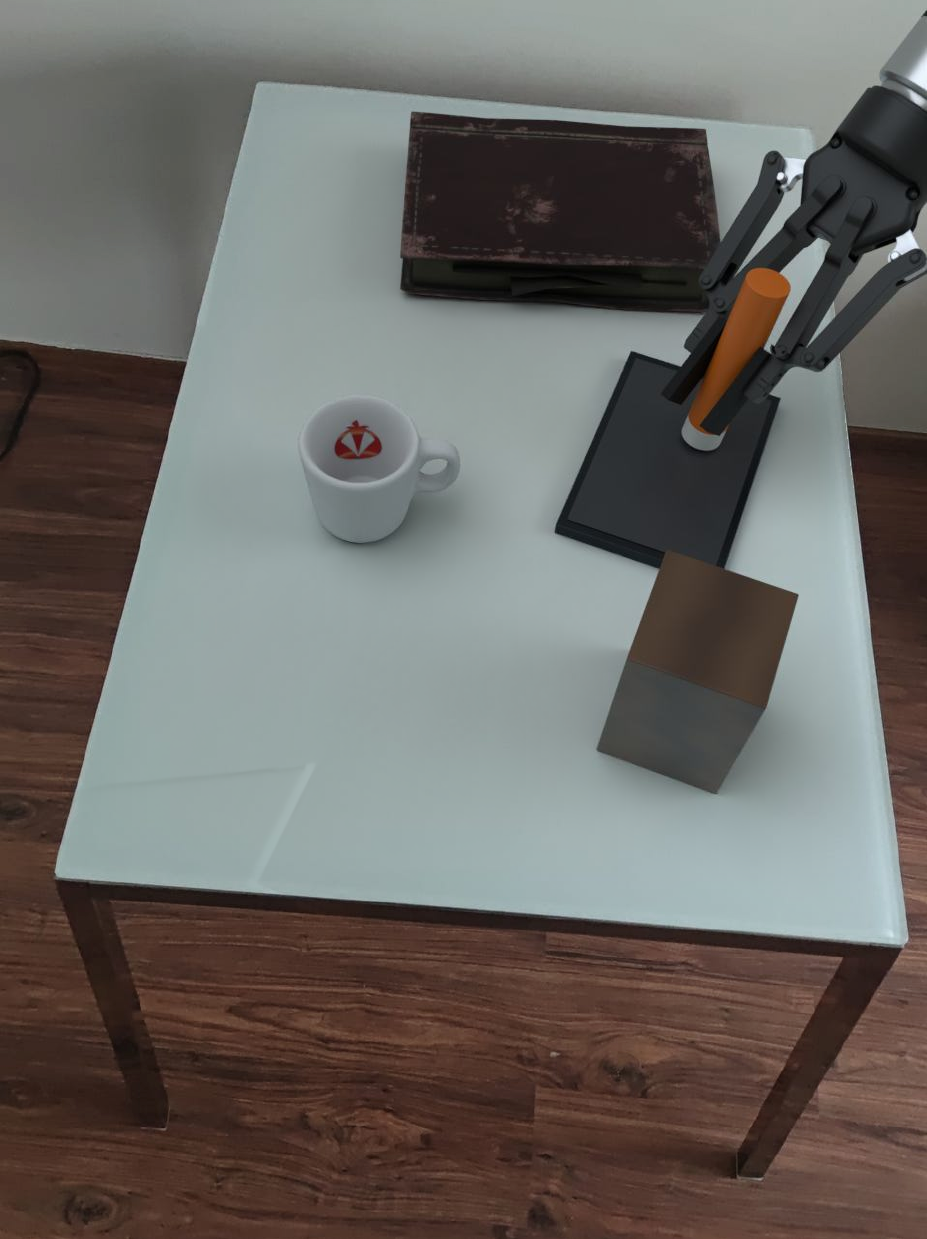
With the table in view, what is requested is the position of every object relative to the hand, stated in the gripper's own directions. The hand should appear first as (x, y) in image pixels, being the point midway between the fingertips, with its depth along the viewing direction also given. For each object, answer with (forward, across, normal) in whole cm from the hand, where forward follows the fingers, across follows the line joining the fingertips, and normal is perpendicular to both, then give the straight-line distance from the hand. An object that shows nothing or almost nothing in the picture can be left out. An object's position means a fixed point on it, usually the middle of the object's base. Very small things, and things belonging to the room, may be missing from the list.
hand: (690, 414), depth 85 cm
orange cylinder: (+1, 0, -5) cm, 5 cm away
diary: (-3, +23, -11) cm, 26 cm away
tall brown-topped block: (+15, -14, +7) cm, 22 cm away
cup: (+18, +11, +10) cm, 23 cm away
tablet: (+4, 0, -4) cm, 6 cm away
